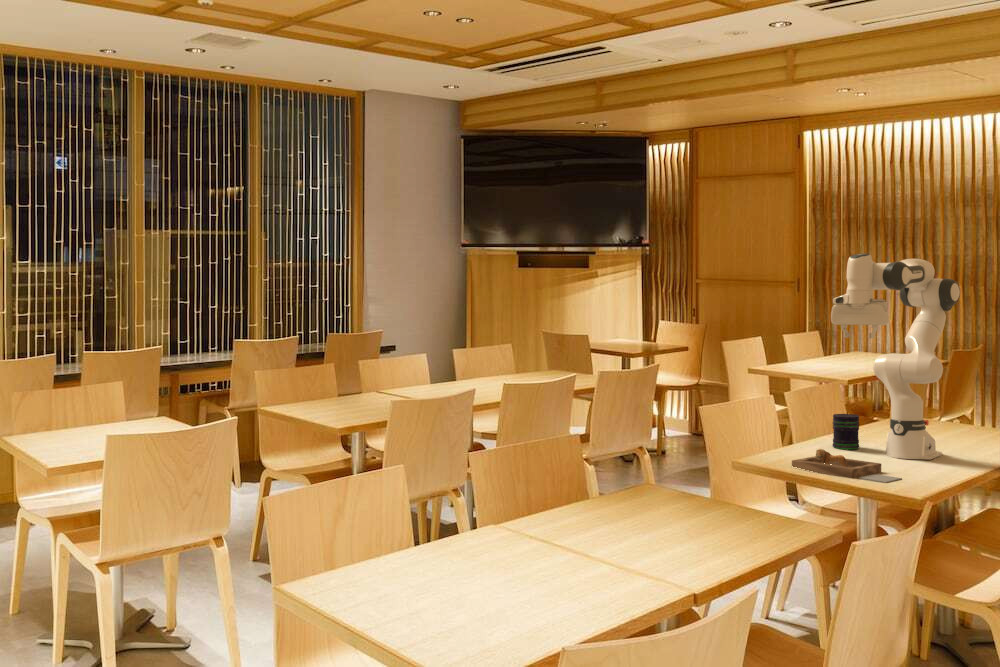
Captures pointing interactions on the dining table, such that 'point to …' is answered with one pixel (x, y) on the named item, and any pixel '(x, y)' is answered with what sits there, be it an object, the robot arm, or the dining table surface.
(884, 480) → the rubber mat
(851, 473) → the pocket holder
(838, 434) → the storage jar
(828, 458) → the lion figurine
